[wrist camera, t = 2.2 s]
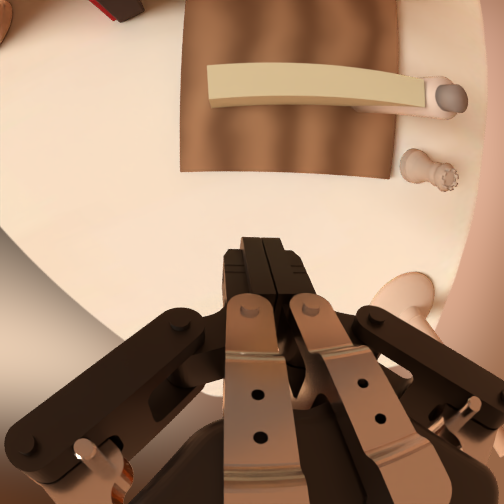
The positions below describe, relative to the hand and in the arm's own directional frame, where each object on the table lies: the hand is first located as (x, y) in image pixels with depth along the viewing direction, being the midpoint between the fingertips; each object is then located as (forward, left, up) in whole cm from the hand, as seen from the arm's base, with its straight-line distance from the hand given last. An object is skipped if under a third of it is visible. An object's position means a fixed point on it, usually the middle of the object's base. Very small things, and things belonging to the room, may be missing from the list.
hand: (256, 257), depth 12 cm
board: (+7, +14, -22) cm, 27 cm away
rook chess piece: (+23, +2, -22) cm, 32 cm away
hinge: (+7, +8, -20) cm, 23 cm away
